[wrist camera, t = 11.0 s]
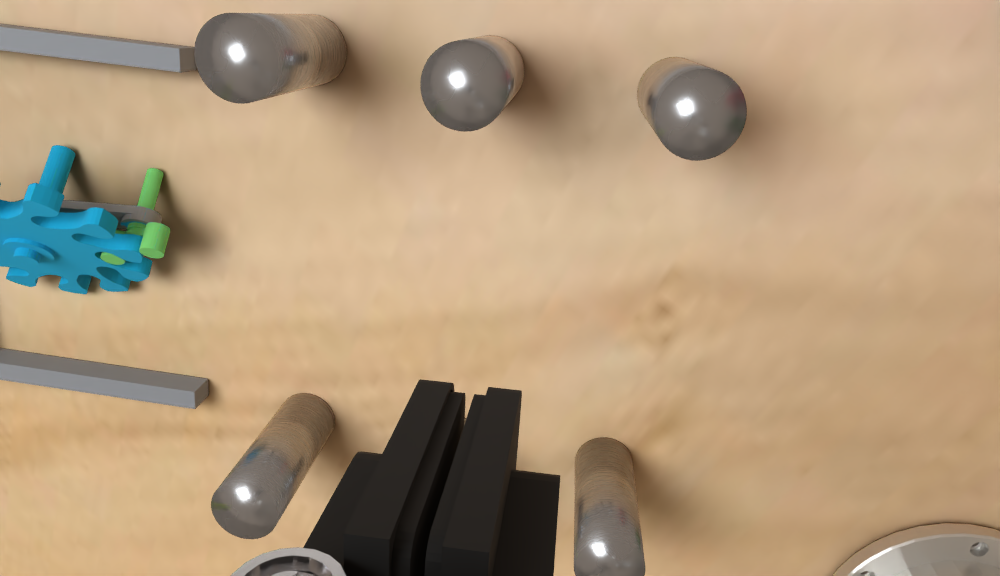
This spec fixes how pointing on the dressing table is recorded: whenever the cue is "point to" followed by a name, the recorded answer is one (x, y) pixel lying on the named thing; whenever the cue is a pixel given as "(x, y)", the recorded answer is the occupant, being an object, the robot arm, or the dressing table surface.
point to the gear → (80, 233)
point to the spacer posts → (463, 107)
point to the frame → (79, 371)
